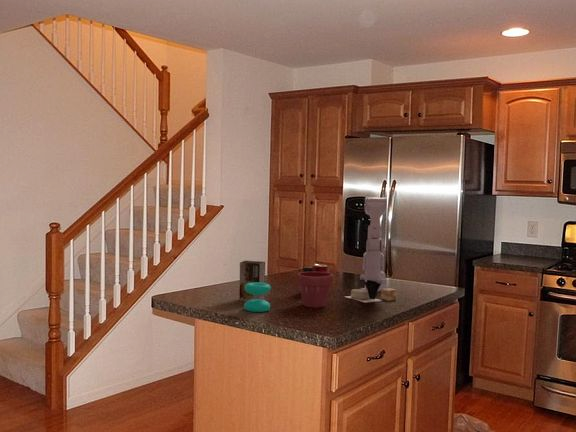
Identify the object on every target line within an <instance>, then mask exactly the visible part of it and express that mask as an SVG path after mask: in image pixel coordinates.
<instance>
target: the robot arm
mask: <svg viewBox="0 0 576 432" xmlns="http://www.w3.org/2000/svg"><path fill="white" fill-rule="evenodd" d="M387 205H388V199H387V197H366V196H365V198H364V212H365V214H366V215H368V216H369V218H370V223H369V224H370V225H368V227H367V240H366V243H365V245H366V246H365V248H366V249H365V250H366V251H365V252H364V253H363V257H362V270H363V271H365V274H360V275H359V280H364V287H362V288H361V287H360V289H365V290H368V294H369V299H375V298H376V296H377V293H378V292H381V289H385V288H386V287H387V286H386V285H387V274H386V273H385V272H384V270H385V255H384V253H382V251H383V240H382V227H381V225H380V222H381V220H380V219H381V218H382V216H384V215H386V213H387Z"/></svg>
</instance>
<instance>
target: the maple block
mask: <svg viewBox="0 0 576 432" xmlns="http://www.w3.org/2000/svg"><path fill="white" fill-rule="evenodd" d="M380 293H381V295H380V300H385V301H389V302H390V301H396V300H397V289H395V288H390V287H387V288H385V289H381V291H380Z"/></svg>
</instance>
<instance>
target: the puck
mask: <svg viewBox="0 0 576 432" xmlns="http://www.w3.org/2000/svg"><path fill="white" fill-rule="evenodd" d="M350 296H351V298H354V299H369V294H368V290H365V289H361V288H354V289H353V288H352V289H351V291H350ZM351 298H350V299H351ZM354 299H353V300H354Z"/></svg>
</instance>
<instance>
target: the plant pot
mask: <svg viewBox="0 0 576 432" xmlns="http://www.w3.org/2000/svg"><path fill="white" fill-rule="evenodd" d="M333 277H334V276H333V274H332V273H330V272H328V273H326V272H303V271H302V272H298V273H297V283H298V284H299V291H300V290H301V294H300V296H301V300H302V305H303V306H304V307H307V308H308V307H309V308H324V307H326V306H327V301H328V296H329V293H330V288H331V285H332V284H333Z"/></svg>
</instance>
